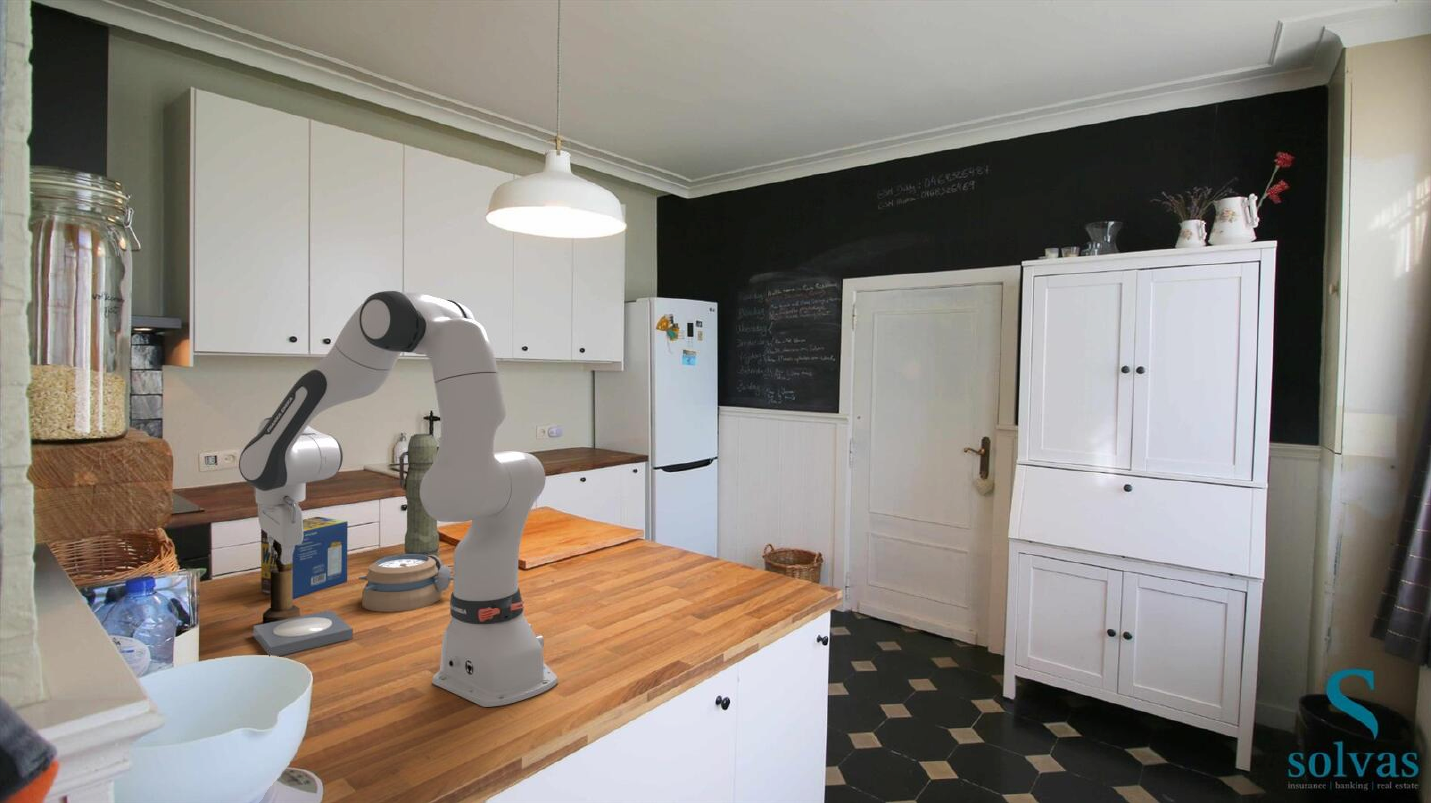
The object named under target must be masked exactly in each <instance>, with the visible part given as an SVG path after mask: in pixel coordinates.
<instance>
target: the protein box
mask: <svg viewBox="0 0 1431 803" xmlns="http://www.w3.org/2000/svg"><path fill="white" fill-rule="evenodd" d="M348 524H349V523H348V521H347V520H342V519H341V520H340V519H335V518H334V519H333V518H329V517H322V516H314V517H310V518H305V519H303V541H302V544H300V545H295V549H294V552H293V555H292V563H291V564H287V565H286V567H290V568H292V600H294V599H297V598H300V597H302V596H307V595H310V594H313V593H316V592H318V591H322V590H325V589H328V588H332V587H334V586H337V585H342V584H345V583H347V582H348V535H349V534H348V533H349V532H348V529H349V528H348ZM277 556H278V555H277V554H271V553H270V552H269V542H268V537H267V533H266V532H265V531H264V530H262V529H261V528H260V564H261V565H260V567H261V568H260V572H261V573H260V579H261V580H260V583H261V584H260V587H261V589H260V590H261V594H266V595H270V596H271V570H273V569H276V568H277V565H276V562H275V559H276V558H277Z"/></svg>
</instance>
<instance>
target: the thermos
mask: <svg viewBox="0 0 1431 803" xmlns="http://www.w3.org/2000/svg"><path fill="white" fill-rule="evenodd" d="M437 443H438V442H437V440H436V437H435V435H433V434H432V433H431V434H430V433H416V434H413V435H411V436H410V438H409V442H408V444H407V445H408V446H407V450H406V451H404V452H402V453H401V455H400V456H399V457H398V459H399V461H398V462H399V471H398V472H399V479H398V480H399V484H398V486H399V487H400V489H402V490H404V496H405V497H404V498H405V499H406V532H405V534H404V552H405V554H419V555H425V556H429V555H434V556H437V557H438V558H439V549H440V534H439V532H438V521H437V520H435V519H433V518H432V517H431V516H430V515H429V514H428V513H427V512H426V510H425V509H424V507H423V505H422V502H421V498H420V486H421V482H422V479H423V477H424V475H425V474H426V472H427V471H428V470H429V469H430V467H431V466H432V464H433V462H434V460H435V458H436V455H437V452H438V444H437ZM406 456H407V463H408V467H407V472H406V473H407V474H406V475H405V457H406ZM404 477H405V478H404ZM404 481H405V482H404Z"/></svg>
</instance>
